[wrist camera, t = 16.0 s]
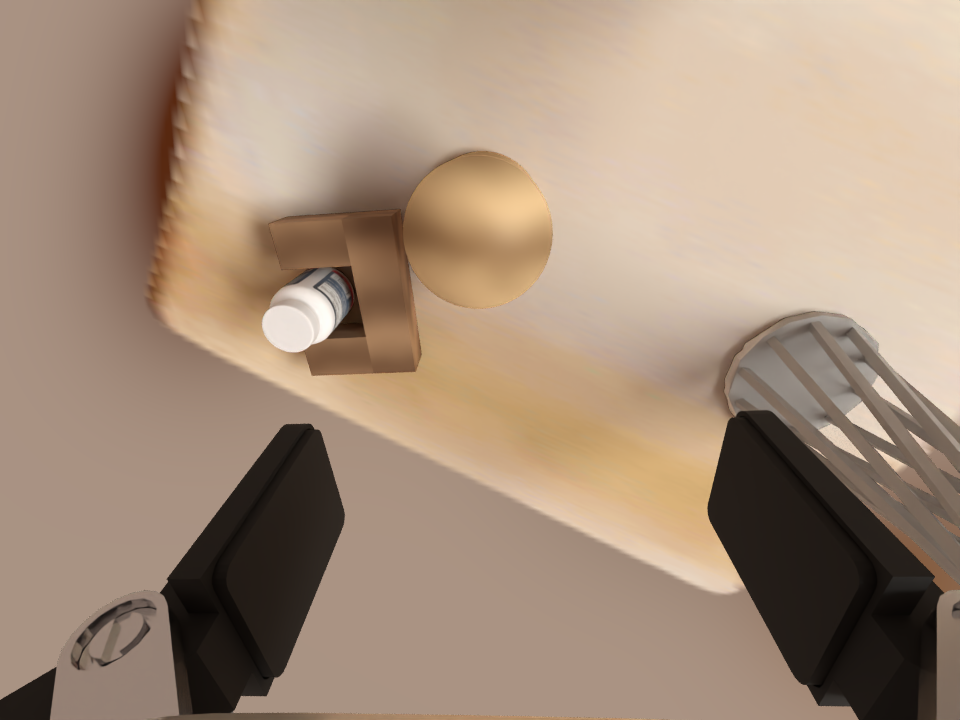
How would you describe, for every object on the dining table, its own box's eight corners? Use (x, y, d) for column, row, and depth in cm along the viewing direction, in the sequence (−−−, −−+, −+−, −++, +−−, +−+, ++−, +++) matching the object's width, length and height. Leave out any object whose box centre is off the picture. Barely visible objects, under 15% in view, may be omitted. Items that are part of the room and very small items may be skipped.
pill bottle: (299, 311, 41) (252, 352, 34) (300, 259, 39) (250, 289, 31) (353, 323, 42) (319, 366, 34) (358, 272, 39) (322, 305, 32)
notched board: (287, 216, 37) (268, 223, 34) (400, 209, 37) (390, 215, 33) (325, 358, 44) (311, 375, 41) (421, 354, 43) (415, 371, 40)
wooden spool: (416, 155, 35) (391, 161, 27) (541, 146, 34) (553, 149, 26) (431, 276, 39) (413, 311, 31) (541, 270, 38) (551, 305, 31)
